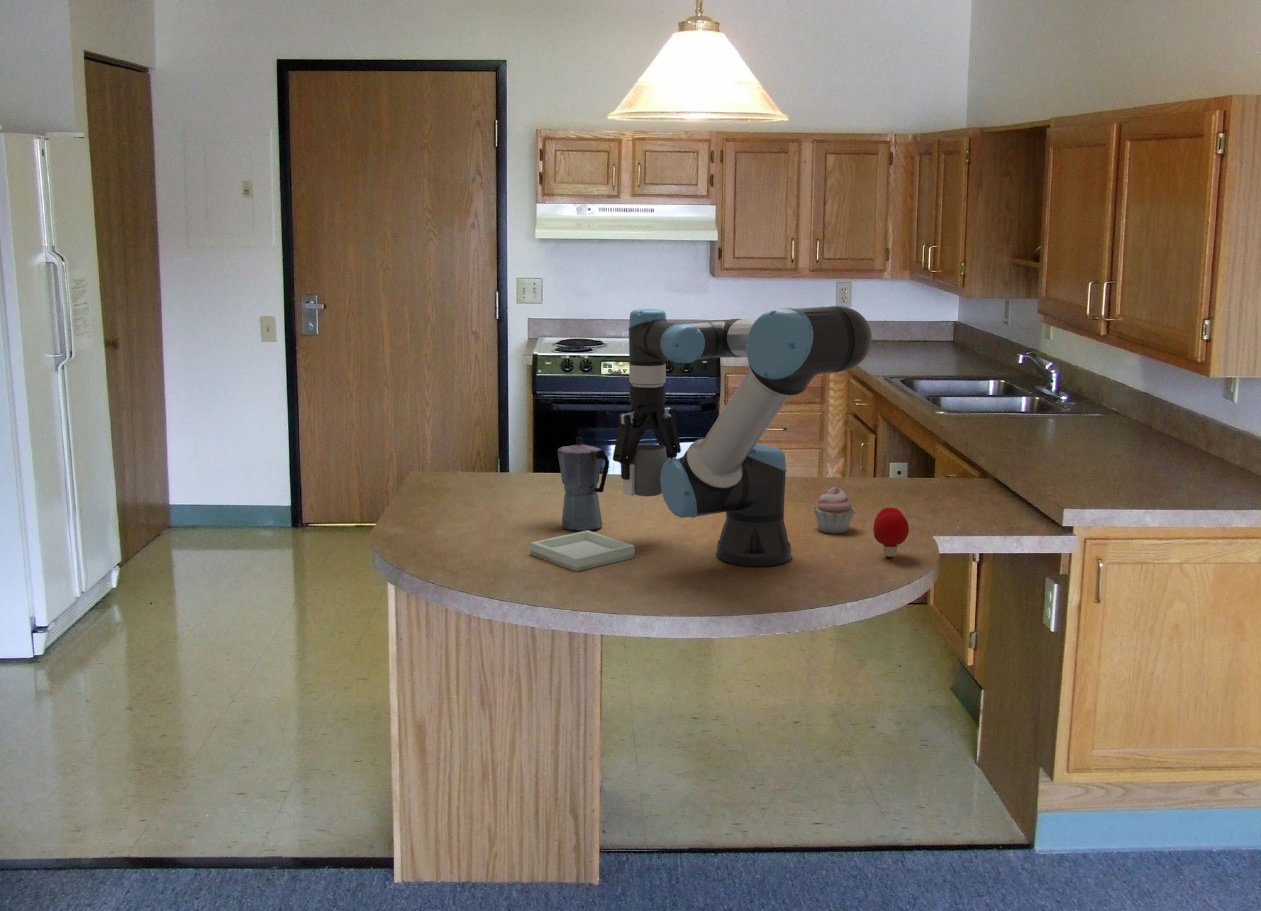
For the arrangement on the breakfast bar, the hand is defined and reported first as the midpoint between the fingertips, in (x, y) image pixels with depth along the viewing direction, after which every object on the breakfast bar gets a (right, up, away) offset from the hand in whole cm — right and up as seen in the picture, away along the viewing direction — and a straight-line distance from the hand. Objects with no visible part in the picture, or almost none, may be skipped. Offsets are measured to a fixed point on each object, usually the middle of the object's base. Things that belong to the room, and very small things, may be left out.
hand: (647, 490), depth 275 cm
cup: (0, -1, 0) cm, 1 cm away
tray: (-13, -13, -8) cm, 20 cm away
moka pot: (-14, -9, +14) cm, 21 cm away
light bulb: (+49, -14, -7) cm, 51 cm away
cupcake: (+41, -9, +13) cm, 44 cm away
